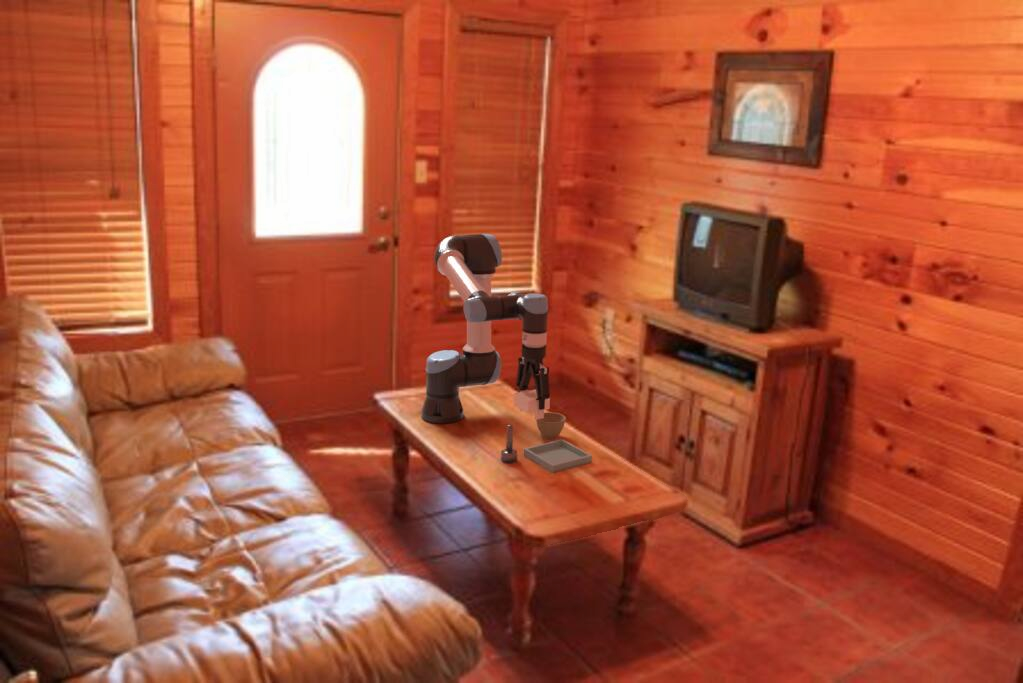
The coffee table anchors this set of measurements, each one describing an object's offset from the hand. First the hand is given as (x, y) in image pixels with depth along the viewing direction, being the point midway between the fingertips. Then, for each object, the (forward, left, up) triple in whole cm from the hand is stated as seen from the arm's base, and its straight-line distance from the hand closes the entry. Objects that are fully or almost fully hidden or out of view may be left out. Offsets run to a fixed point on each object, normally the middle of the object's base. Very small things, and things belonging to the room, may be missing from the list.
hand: (531, 414), depth 273 cm
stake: (-3, -6, -16) cm, 17 cm away
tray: (+4, +8, -16) cm, 18 cm away
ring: (0, 0, +2) cm, 2 cm away
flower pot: (-12, +17, -16) cm, 27 cm away
